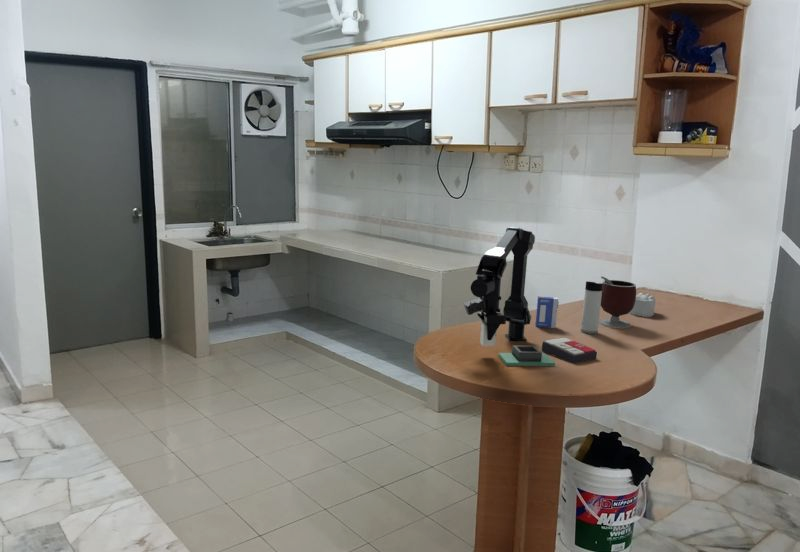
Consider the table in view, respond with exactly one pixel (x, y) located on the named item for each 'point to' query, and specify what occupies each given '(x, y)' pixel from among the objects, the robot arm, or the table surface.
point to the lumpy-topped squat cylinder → (643, 305)
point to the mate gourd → (617, 301)
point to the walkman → (546, 312)
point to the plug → (483, 336)
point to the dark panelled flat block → (569, 350)
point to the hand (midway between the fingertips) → (487, 338)
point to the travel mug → (591, 307)
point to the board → (526, 357)
